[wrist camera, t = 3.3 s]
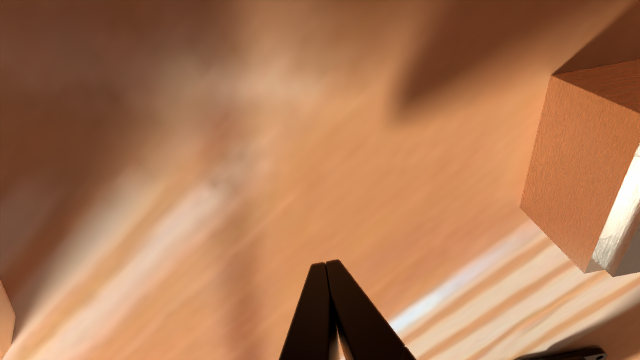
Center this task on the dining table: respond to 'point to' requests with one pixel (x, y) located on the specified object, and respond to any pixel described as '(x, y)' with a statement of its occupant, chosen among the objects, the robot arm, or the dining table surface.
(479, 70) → the dining table surface
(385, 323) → the robot arm
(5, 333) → the canister
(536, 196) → the light grey small box
